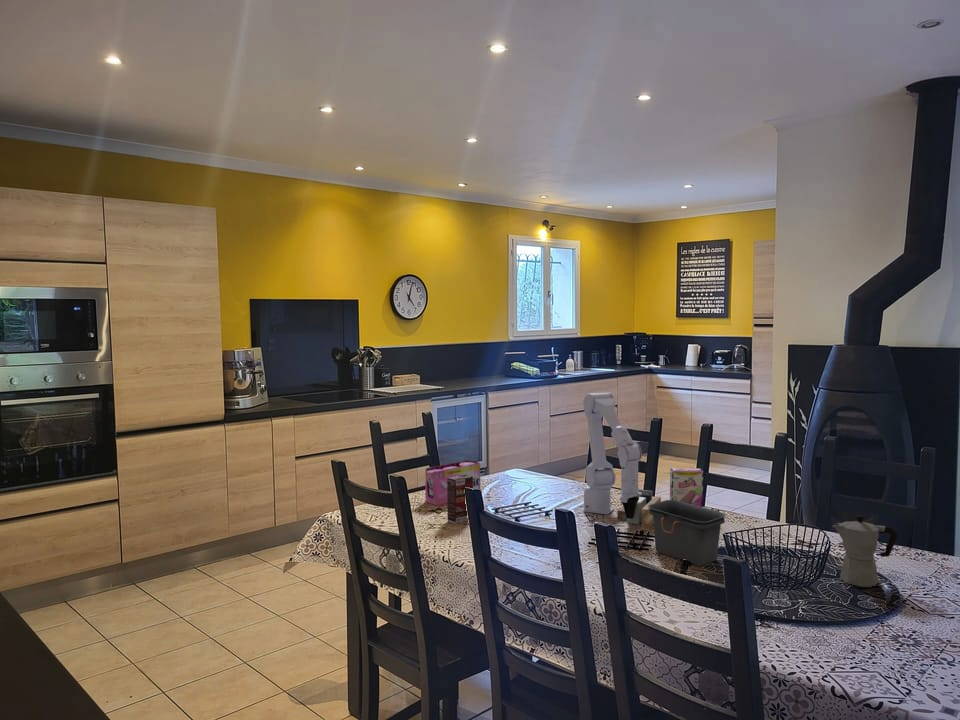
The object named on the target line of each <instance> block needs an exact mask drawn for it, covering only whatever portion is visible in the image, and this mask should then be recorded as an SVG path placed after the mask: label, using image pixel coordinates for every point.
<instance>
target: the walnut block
mask: <svg viewBox="0 0 960 720" xmlns="http://www.w3.org/2000/svg"><path fill="white" fill-rule="evenodd" d="M616 512H617V514H616V515H617V517H616V518H617V520H622V519H624V520H623V521H627V518H626V514H625V510H624V507H623V505H622V506H621V507H620V508H618V510H617V511H616Z"/></svg>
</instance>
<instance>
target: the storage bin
mask: <svg viewBox="0 0 960 720" xmlns="http://www.w3.org/2000/svg"><path fill="white" fill-rule="evenodd" d="M648 507H649V508H650V510H649V513H650V514H651V515H653V522H654V524H653V531H654V532H653V533H654V535H653V536H654V546H655V551H656V552H657V553H661V554H664V555H666V556H670V557H673V558H675V559H678V560H681V559H687V560H688V561H690V562H691V563H690V564H692V565H694V566H697V567H700V566H705V565H707V564H710V563H713V562H715V561H717V559H718V552H719V542H720V533H721V527H722V526H721V525H724V524H726V523H725V522H726V521H725V517H726V516H727V514H725V513H724V512H721V511H716V510H713V509H710V508H707V507H704V506H703V507H700V506H696V505H692V504H689V503H685V502H681V501H677V500H670V499H667V500H663V501H662V500H661V502H658V503H654V504H650V505H649V506H648Z"/></svg>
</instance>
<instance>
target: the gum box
mask: <svg viewBox="0 0 960 720" xmlns="http://www.w3.org/2000/svg"><path fill="white" fill-rule="evenodd" d="M461 475H469V476H472V477H473V488H476V489H480V490H481V463H480V462H477V461H473V460H468V459H467V460H461V461H456V462H453V463H447V464H442V465H441V464H440V465H436V466H431V467H426V468H425V486H424V487H425V488H424V490H425V502H426V503H429V504H430V505H431V504H432V505H434V506H440V505H445V504H447V478H451V477H456V476H461Z"/></svg>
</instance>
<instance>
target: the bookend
mask: <svg viewBox="0 0 960 720" xmlns="http://www.w3.org/2000/svg"><path fill="white" fill-rule="evenodd" d="M638 491H639V492H641V493H642V495H640V496H636V497H645V498H646V505H647V504H648V503H649V502H650V501H651V500H652V499H653V490H647V489H639V488H638Z"/></svg>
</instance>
